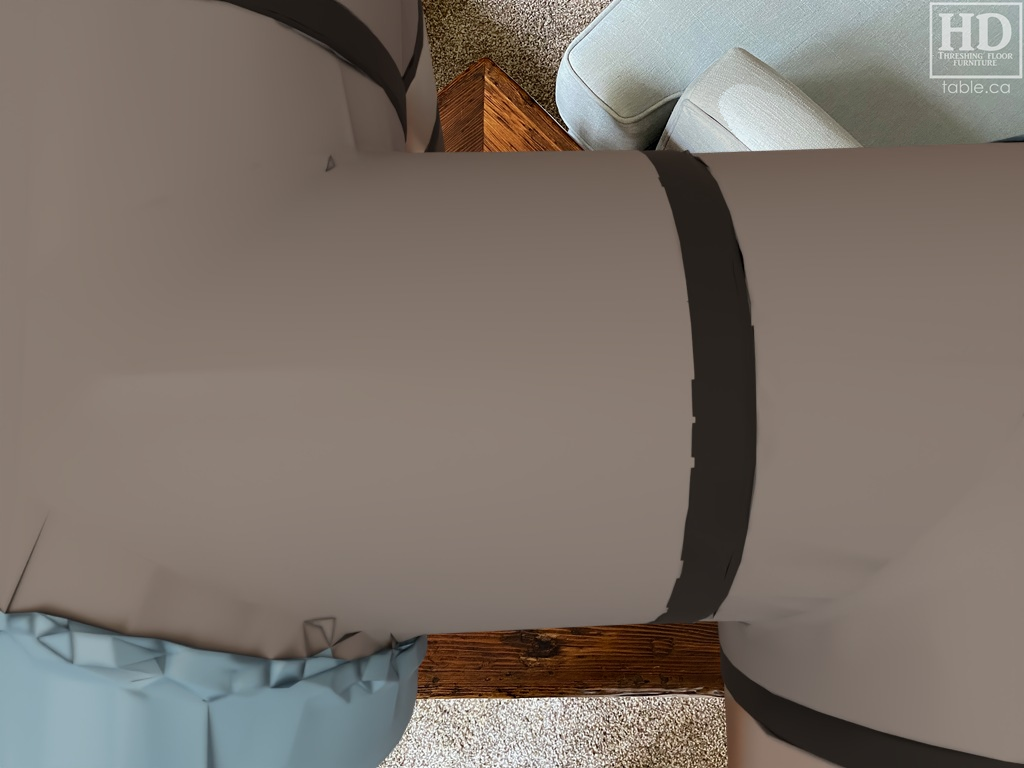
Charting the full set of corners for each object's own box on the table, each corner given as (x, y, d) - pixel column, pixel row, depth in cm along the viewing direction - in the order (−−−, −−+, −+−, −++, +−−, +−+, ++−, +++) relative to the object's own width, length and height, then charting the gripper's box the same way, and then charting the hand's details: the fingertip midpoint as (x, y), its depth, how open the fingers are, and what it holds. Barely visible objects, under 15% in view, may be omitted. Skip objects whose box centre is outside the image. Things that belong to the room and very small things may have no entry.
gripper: (-92, 162, 21) (202, 303, 42) (686, 282, 21) (587, 362, 42) (-39, -58, 21) (224, 191, 42) (713, 63, 22) (603, 249, 43)
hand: (405, 276), depth 42 cm, fingers open, 13 cm apart
